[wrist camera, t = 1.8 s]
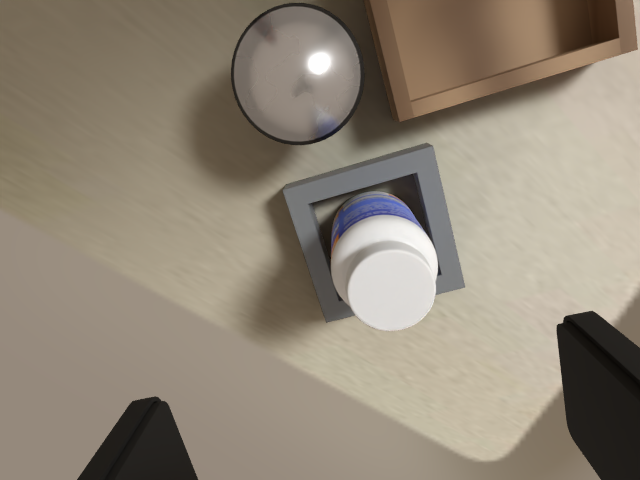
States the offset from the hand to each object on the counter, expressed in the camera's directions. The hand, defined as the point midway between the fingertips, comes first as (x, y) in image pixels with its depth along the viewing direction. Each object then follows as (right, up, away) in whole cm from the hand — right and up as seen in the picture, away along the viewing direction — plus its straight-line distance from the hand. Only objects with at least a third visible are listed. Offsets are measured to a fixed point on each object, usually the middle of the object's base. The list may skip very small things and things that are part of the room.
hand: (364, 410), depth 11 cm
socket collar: (+2, +5, +19) cm, 19 cm away
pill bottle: (+2, +5, +19) cm, 19 cm away
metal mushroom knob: (-2, +13, +16) cm, 21 cm away
